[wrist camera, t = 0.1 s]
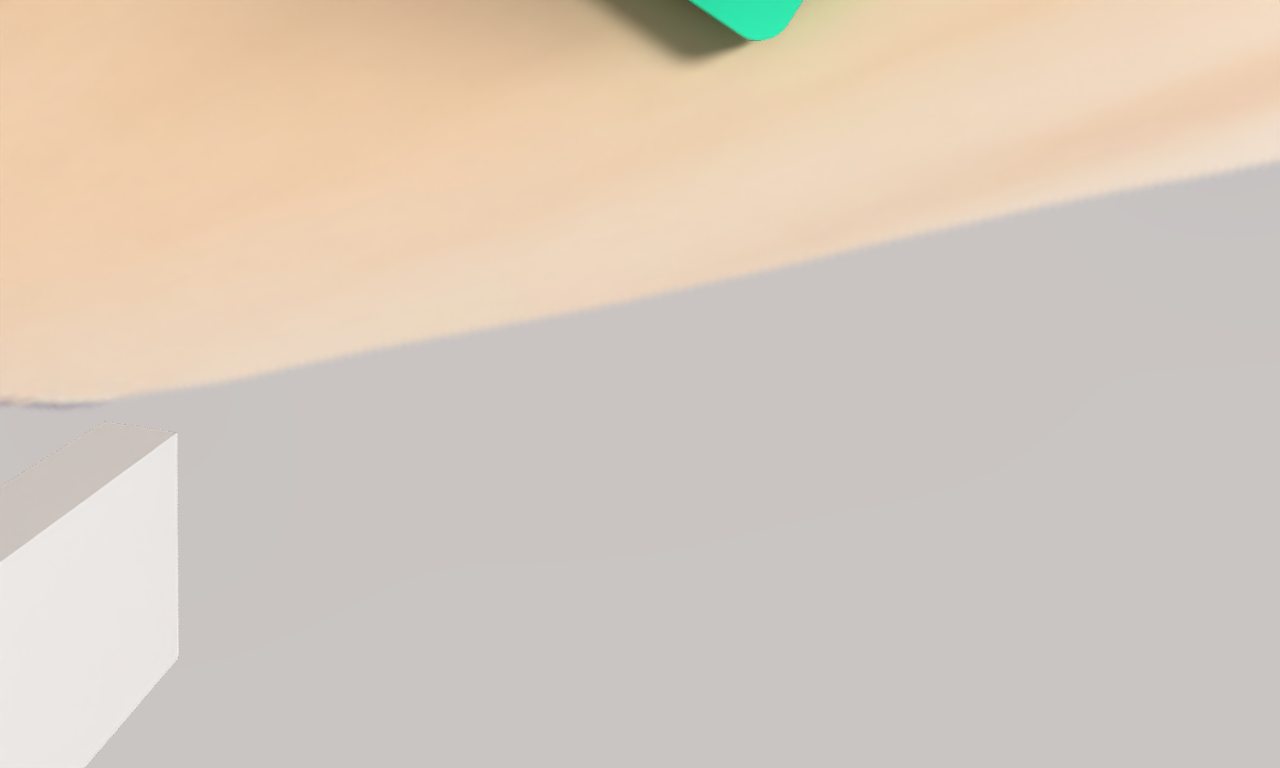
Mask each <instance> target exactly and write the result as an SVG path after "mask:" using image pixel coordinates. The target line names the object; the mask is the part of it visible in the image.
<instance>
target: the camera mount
mask: <svg viewBox="0 0 1280 768" xmlns="http://www.w3.org/2000/svg"><path fill="white" fill-rule="evenodd" d="M688 1H690V2H691V3H693V4H694V5H696V6H697V7H698V8H700V9H701V10H703V11H704V12H706V13H707V14H709V15H710V16H712V17H713V18H715V19H716V20H718V21H719V22H721V23H722V24H723V25H725V26H726V27H728V28H729V29H731V30H732V31H734V32H735V33H737V34H738V35H740V36H741V37H743V38H745V39H748V40H752V41H761V40H766V39H769V38H772V37H774V36H776V35H778V34H779V33H780V32H782V31H783V30H784V28H785V27H786V26H787V25H788V23H789V22H790V20H791V19H792V17H793V15H794V14H795V12H796V11H797V9H798V8H799V6H800V4H801V3H802V1H803V0H688Z"/></svg>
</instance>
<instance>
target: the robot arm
mask: <svg viewBox="0 0 1280 768" xmlns="http://www.w3.org/2000/svg"><path fill="white" fill-rule="evenodd" d="M177 467H178V465H177V432H171V431H164V430H158V429H152V428H145V427H138V426H132V425H126V424H120V423H113V422H107V421H104V422H102V423H101V424H99V425H97V426H96V427H94V428H93V429H91V430H89V431H88V432H86V433H85V434H83V435H81V436H80V437H78V438H77V439H75V440H74V441H72V442H70V443H69V444H67V445H65V446H64V447H62V448H61V449H59V450H57V451H56V452H54V453H52V454H51V455H49V456H48V457H46V458H44V459H43V460H41V461H40V462H38V463H36V464H35V465H33V466H32V467H30V468H28V469H27V470H25V471H24V472H22V473H21V474H19V475H17V476H15V477H14V478H12V479H11V480H9V481H7V482H6V483H4V484H3V485H1V486H0V768H85V767H86V765H87V764H88V763H89V762H90V760H91V759H92V758H93V757H94V756H95V755H96V754H97V753H98V751H99V750H100V749H101V748H102V747H103V745H104V744H105V743H106V742H107V741H108V740H109V738H110V737H111V736H112V735H113V734H114V733H115V731H116V730H117V729H118V728H119V727H120V726H121V724H122V723H123V722H124V721H125V719H126V718H127V717H128V716H129V715H130V714H131V713H132V711H133V710H134V709H135V708H136V707H137V706H138V704H139V703H140V702H141V701H142V700H143V698H144V697H145V696H146V695H147V694H148V693H149V692H150V690H151V689H152V688H153V687H154V686H155V684H156V683H157V682H158V681H159V680H160V679H161V677H162V676H163V675H164V674H165V672H167V670H168V669H169V668H170V667H171V666H172V664H173V663H174V662H175V661H176V660H177V659H178V657H179V652H178V651H179V650H178V648H179V644H178V643H179V639H178V482H177V481H178V471H177V469H178V468H177Z"/></svg>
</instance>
